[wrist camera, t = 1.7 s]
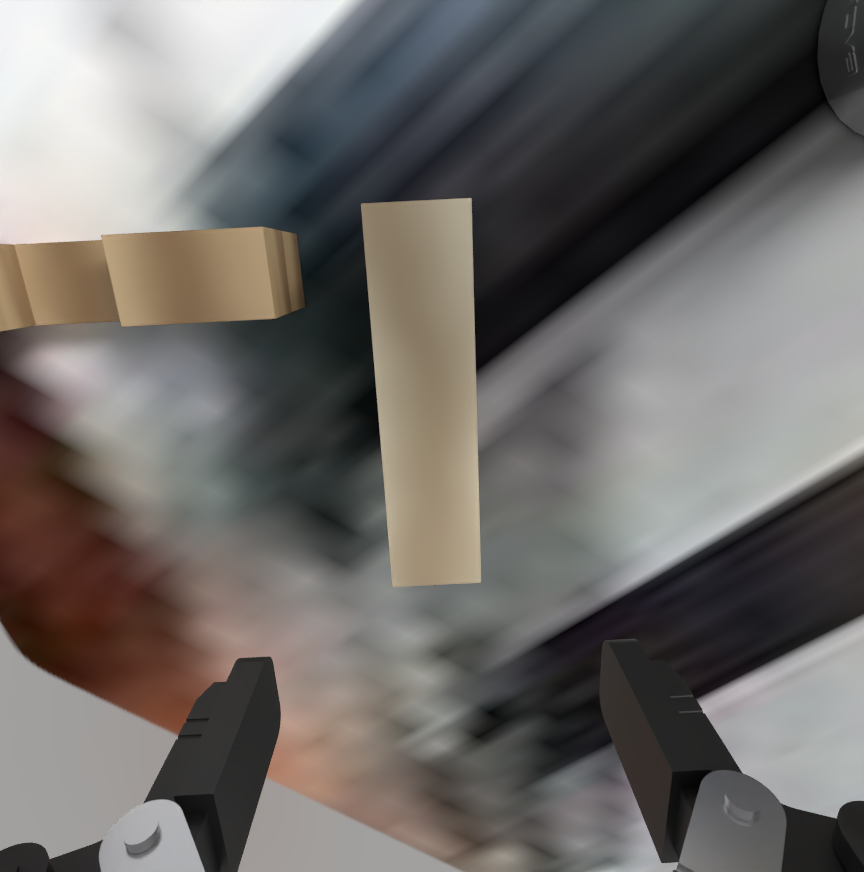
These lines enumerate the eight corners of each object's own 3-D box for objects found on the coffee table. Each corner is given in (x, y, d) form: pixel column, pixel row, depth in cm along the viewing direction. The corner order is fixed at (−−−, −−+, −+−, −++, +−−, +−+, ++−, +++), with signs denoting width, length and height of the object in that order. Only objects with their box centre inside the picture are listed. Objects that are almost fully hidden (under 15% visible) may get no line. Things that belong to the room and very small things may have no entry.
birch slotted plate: (453, 220, 27) (471, 197, 17) (462, 483, 31) (481, 582, 21) (382, 224, 27) (360, 203, 17) (401, 487, 31) (392, 587, 21)
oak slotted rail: (296, 234, 27) (262, 226, 21) (305, 306, 28) (275, 318, 22) (-70, 252, 27) (-204, 250, 21) (-47, 325, 28) (-168, 341, 22)
